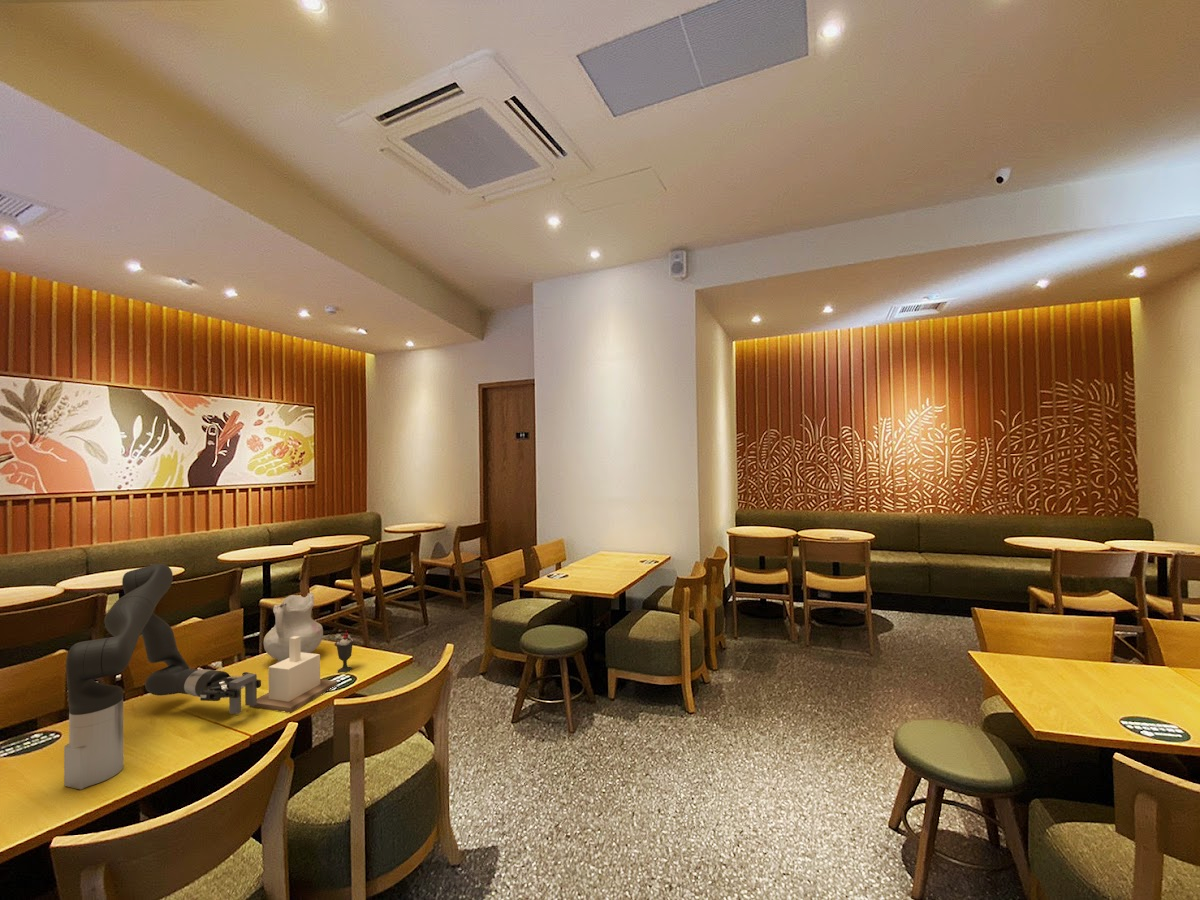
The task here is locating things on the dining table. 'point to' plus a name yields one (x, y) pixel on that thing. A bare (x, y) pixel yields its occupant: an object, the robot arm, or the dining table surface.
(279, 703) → the display base
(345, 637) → the sundae
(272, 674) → the white block with post
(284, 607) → the ceramic pitcher
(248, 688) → the gray u-shaped archway
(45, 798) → the dining table surface
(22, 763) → the dining table surface
